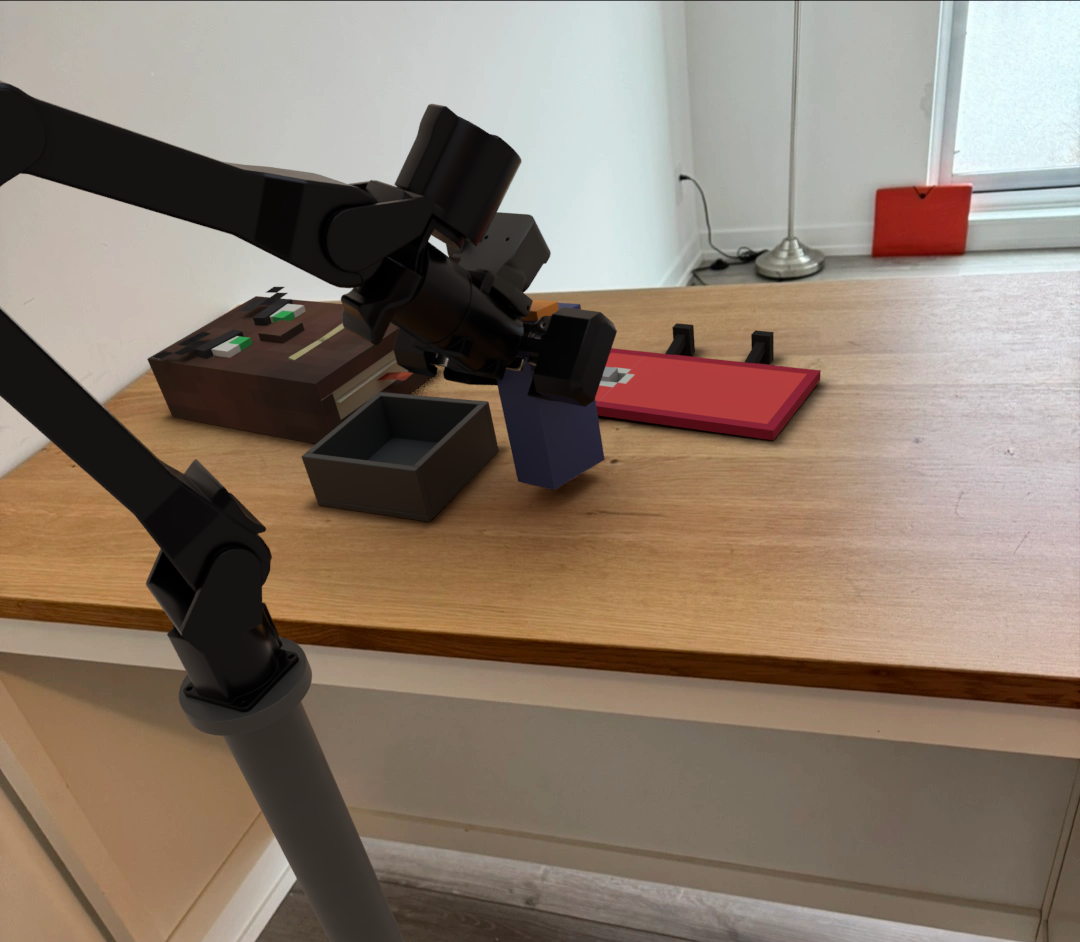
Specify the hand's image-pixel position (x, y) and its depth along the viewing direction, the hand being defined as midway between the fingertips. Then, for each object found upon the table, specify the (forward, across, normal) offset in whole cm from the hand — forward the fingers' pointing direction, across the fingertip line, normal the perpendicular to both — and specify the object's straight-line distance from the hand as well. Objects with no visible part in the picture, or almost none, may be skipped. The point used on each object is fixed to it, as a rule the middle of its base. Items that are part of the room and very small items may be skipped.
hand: (556, 384), depth 84 cm
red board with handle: (+18, +2, -6) cm, 20 cm away
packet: (+4, -1, +6) cm, 7 cm away
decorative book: (+8, +39, +4) cm, 40 cm away
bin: (+2, +14, +10) cm, 18 cm away
